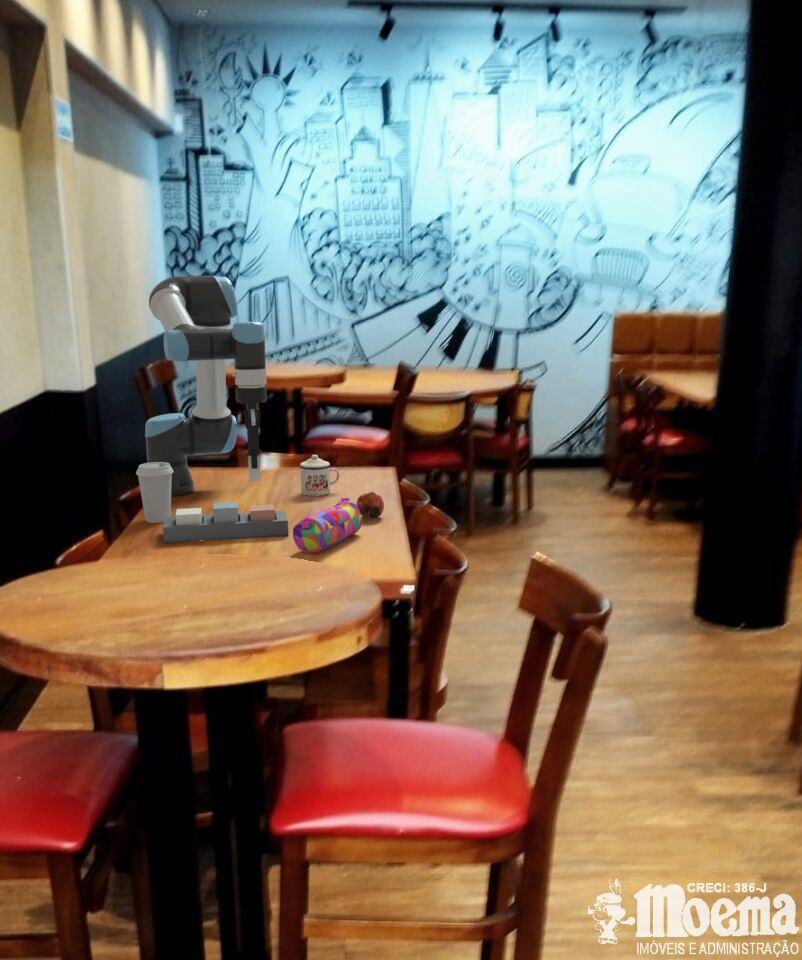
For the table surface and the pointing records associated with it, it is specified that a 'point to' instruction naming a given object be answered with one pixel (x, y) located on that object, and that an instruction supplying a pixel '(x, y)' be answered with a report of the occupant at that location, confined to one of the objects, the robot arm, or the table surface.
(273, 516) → the terracotta key
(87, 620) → the table surface
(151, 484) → the coffee cup
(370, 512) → the pomegranate
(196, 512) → the ivory key
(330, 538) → the pencil case
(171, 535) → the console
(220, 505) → the slate key
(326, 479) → the teacup with lid
